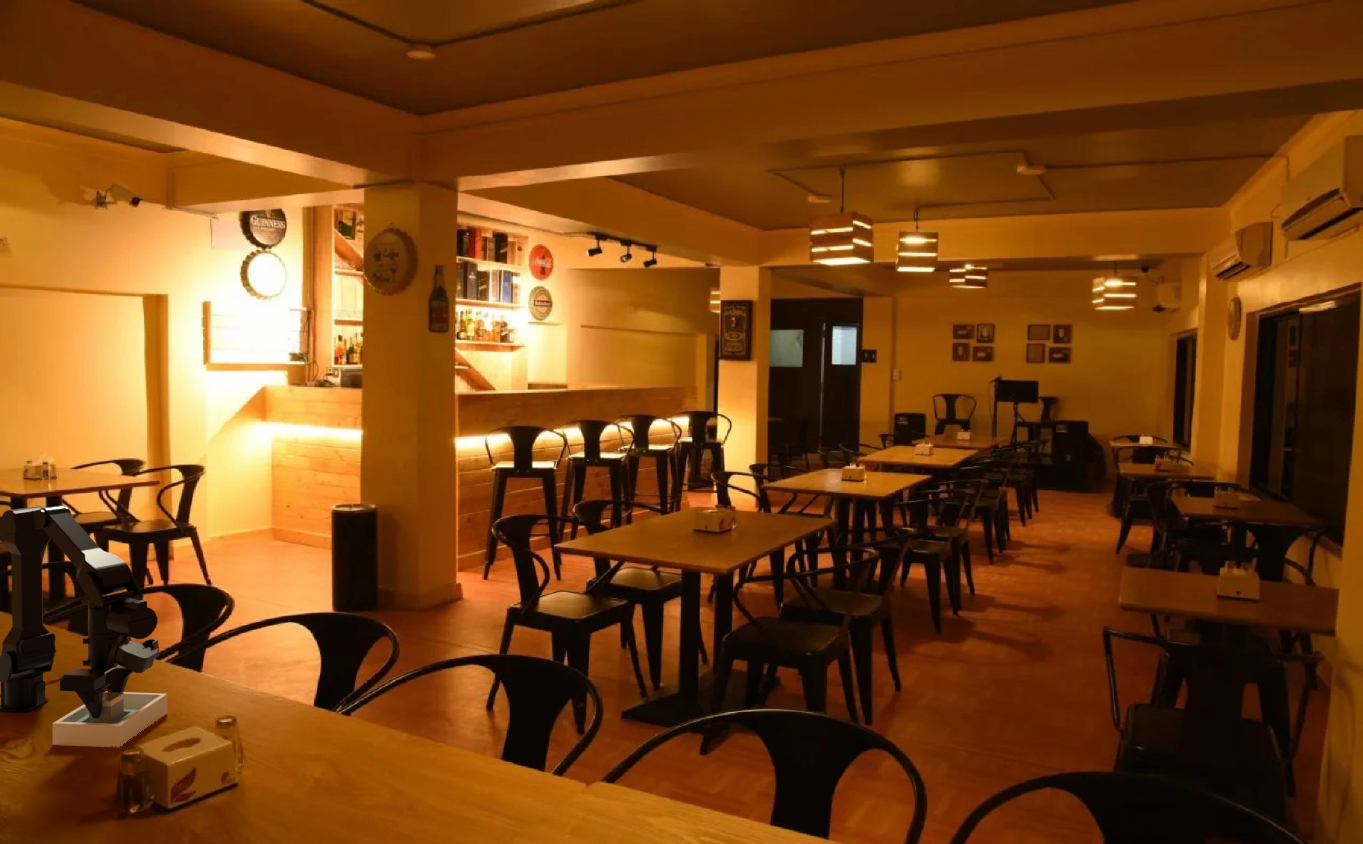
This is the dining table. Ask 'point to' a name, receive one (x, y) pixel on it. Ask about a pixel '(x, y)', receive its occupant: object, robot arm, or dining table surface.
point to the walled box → (136, 718)
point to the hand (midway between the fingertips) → (106, 711)
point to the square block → (110, 708)
